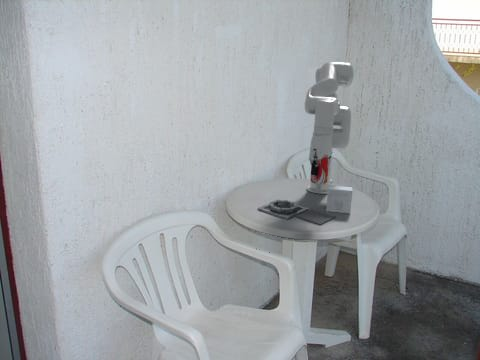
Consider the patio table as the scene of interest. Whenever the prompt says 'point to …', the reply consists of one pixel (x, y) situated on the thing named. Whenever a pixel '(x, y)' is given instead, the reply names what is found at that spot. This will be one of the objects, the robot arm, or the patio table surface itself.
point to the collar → (283, 209)
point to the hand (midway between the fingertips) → (319, 173)
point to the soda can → (321, 172)
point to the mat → (316, 217)
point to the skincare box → (339, 199)
